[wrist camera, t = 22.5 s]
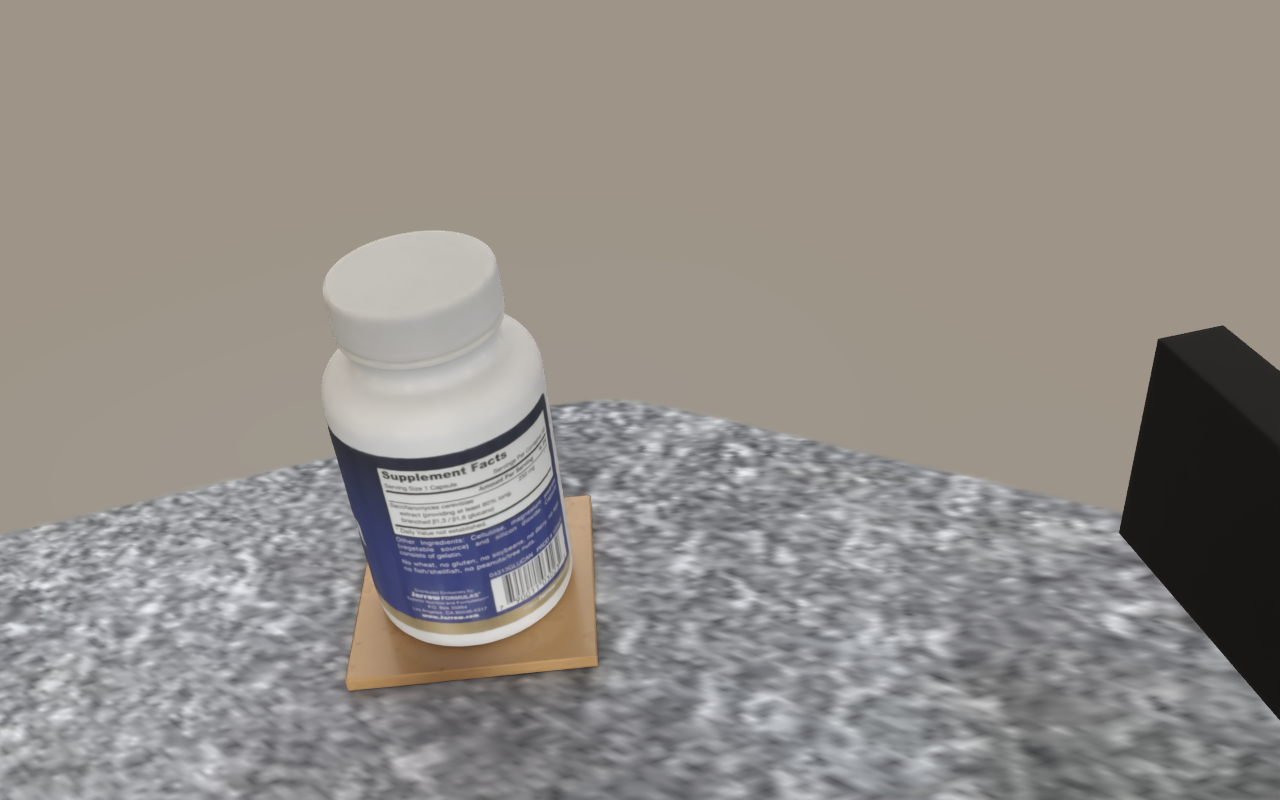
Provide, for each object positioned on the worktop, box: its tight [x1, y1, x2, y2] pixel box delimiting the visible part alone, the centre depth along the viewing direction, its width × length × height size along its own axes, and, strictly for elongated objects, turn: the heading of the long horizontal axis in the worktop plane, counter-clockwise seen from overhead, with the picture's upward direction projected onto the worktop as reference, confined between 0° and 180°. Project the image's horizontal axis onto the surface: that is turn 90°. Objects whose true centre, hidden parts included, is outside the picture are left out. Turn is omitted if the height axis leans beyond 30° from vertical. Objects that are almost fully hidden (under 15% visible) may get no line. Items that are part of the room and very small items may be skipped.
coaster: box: [345, 495, 598, 691], centre depth 33 cm, size 6×6×1 cm
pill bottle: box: [321, 230, 573, 646], centre depth 30 cm, size 5×5×10 cm
